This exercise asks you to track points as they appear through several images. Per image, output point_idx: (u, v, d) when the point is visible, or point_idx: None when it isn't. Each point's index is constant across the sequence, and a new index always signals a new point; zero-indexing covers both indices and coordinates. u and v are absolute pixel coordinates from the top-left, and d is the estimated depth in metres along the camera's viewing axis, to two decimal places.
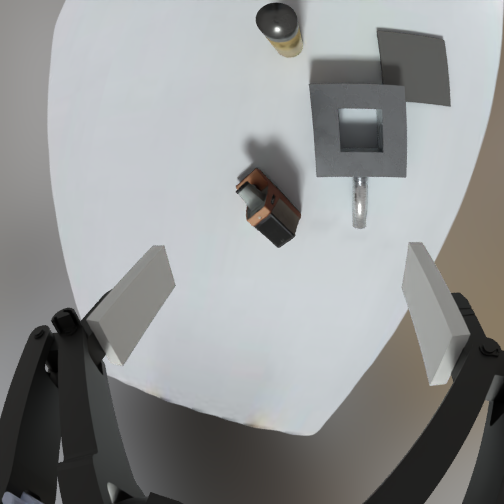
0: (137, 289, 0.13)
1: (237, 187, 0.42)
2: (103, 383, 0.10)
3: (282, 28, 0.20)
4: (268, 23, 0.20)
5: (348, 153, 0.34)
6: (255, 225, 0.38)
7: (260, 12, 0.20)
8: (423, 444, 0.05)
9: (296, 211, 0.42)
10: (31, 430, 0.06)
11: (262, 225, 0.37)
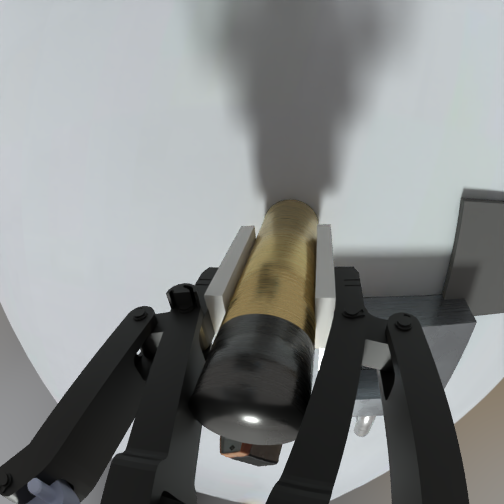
0: (242, 266, 0.14)
1: None
2: None
3: (263, 437, 0.08)
4: (226, 423, 0.08)
5: (363, 400, 0.22)
6: (230, 457, 0.26)
7: (199, 400, 0.08)
8: (313, 413, 0.07)
9: None
10: (92, 424, 0.07)
11: (238, 458, 0.25)
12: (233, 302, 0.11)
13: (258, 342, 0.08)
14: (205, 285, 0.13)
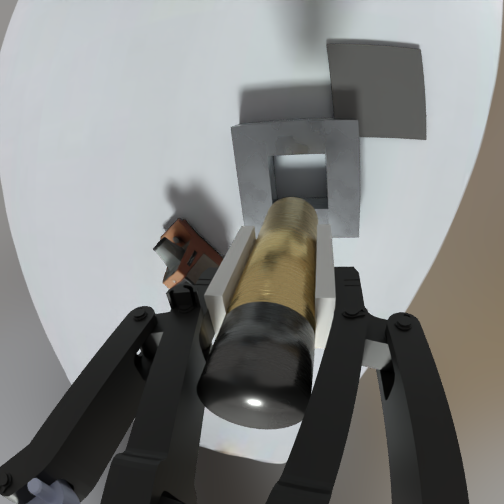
0: (242, 266, 0.14)
1: (161, 238, 0.37)
2: None
3: (267, 420, 0.09)
4: (231, 407, 0.09)
5: None
6: None
7: (206, 382, 0.08)
8: (313, 413, 0.07)
9: None
10: (92, 423, 0.07)
11: None
12: (238, 292, 0.12)
13: (262, 327, 0.09)
14: (205, 285, 0.13)
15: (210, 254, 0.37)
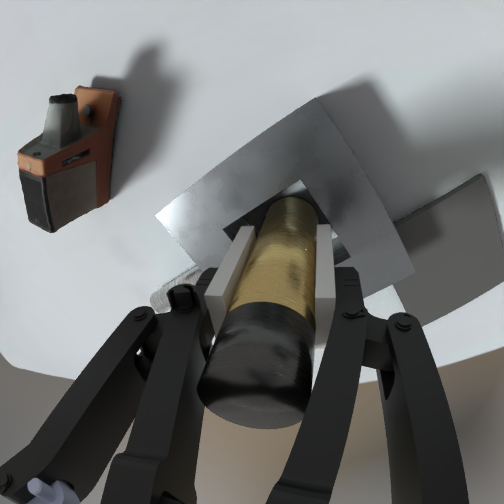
0: (242, 266, 0.14)
1: (76, 89, 0.17)
2: None
3: (267, 420, 0.09)
4: (232, 407, 0.09)
5: (230, 243, 0.18)
6: (20, 169, 0.14)
7: (206, 382, 0.08)
8: (313, 413, 0.07)
9: (105, 194, 0.22)
10: (92, 423, 0.07)
11: (26, 178, 0.15)
12: (238, 292, 0.12)
13: (262, 327, 0.09)
14: (205, 285, 0.13)
15: (101, 167, 0.20)
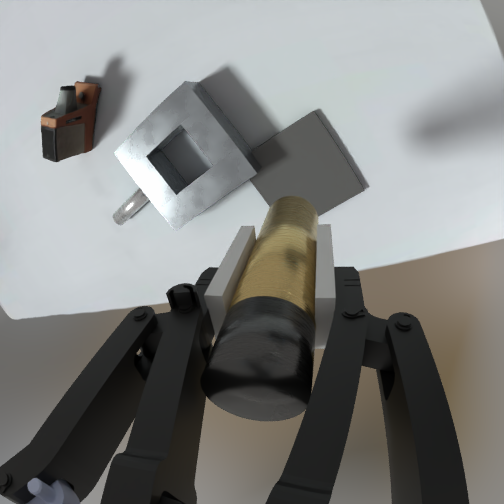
0: (242, 266, 0.14)
1: (75, 83, 0.29)
2: None
3: (269, 412, 0.09)
4: (234, 399, 0.09)
5: (150, 164, 0.30)
6: (42, 125, 0.26)
7: (210, 374, 0.09)
8: (313, 413, 0.07)
9: (89, 145, 0.33)
10: (92, 423, 0.07)
11: (45, 130, 0.26)
12: (240, 287, 0.12)
13: (264, 320, 0.09)
14: (205, 285, 0.13)
15: (87, 128, 0.31)
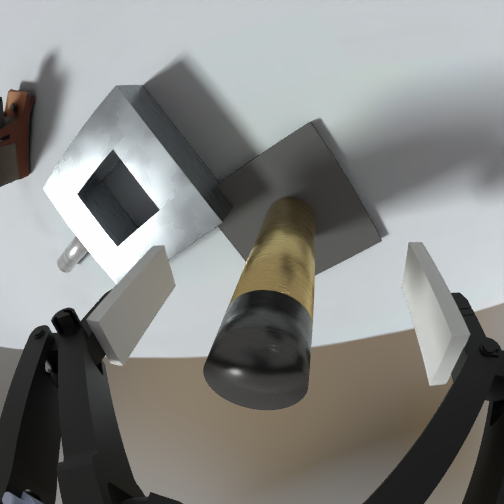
0: (137, 289, 0.13)
1: (8, 92, 0.19)
2: (103, 383, 0.10)
3: (269, 400, 0.10)
4: (235, 387, 0.10)
5: (82, 204, 0.21)
6: None
7: (213, 363, 0.09)
8: (423, 444, 0.05)
9: (25, 169, 0.23)
10: (31, 430, 0.06)
11: None
12: (240, 283, 0.13)
13: (264, 312, 0.10)
14: None
15: (20, 148, 0.21)
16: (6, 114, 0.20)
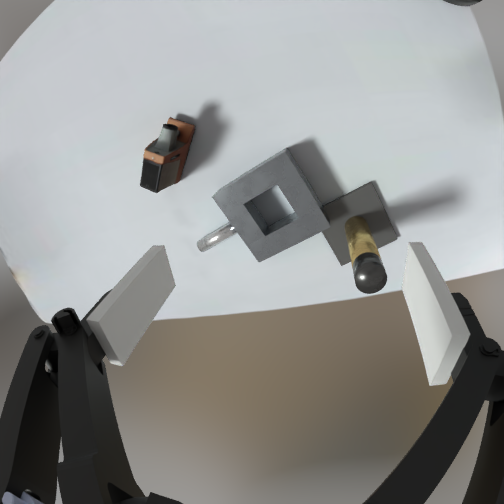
0: (137, 289, 0.13)
1: (169, 119, 0.39)
2: (103, 383, 0.10)
3: (373, 288, 0.31)
4: (364, 282, 0.31)
5: (246, 210, 0.41)
6: (145, 158, 0.36)
7: (360, 272, 0.30)
8: (423, 444, 0.05)
9: (179, 177, 0.43)
10: (31, 430, 0.06)
11: (148, 163, 0.36)
12: (357, 250, 0.33)
13: (372, 257, 0.31)
14: None
15: (181, 163, 0.41)
16: None
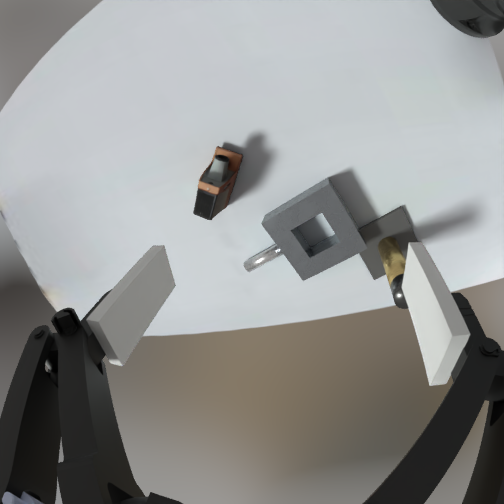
0: (138, 289, 0.13)
1: (217, 148, 0.43)
2: (103, 383, 0.10)
3: None
4: (401, 300, 0.34)
5: (293, 236, 0.45)
6: (199, 188, 0.41)
7: (399, 292, 0.34)
8: (423, 444, 0.05)
9: (227, 203, 0.48)
10: (31, 430, 0.06)
11: (202, 193, 0.41)
12: (394, 272, 0.37)
13: None
14: None
15: (230, 190, 0.46)
16: None
